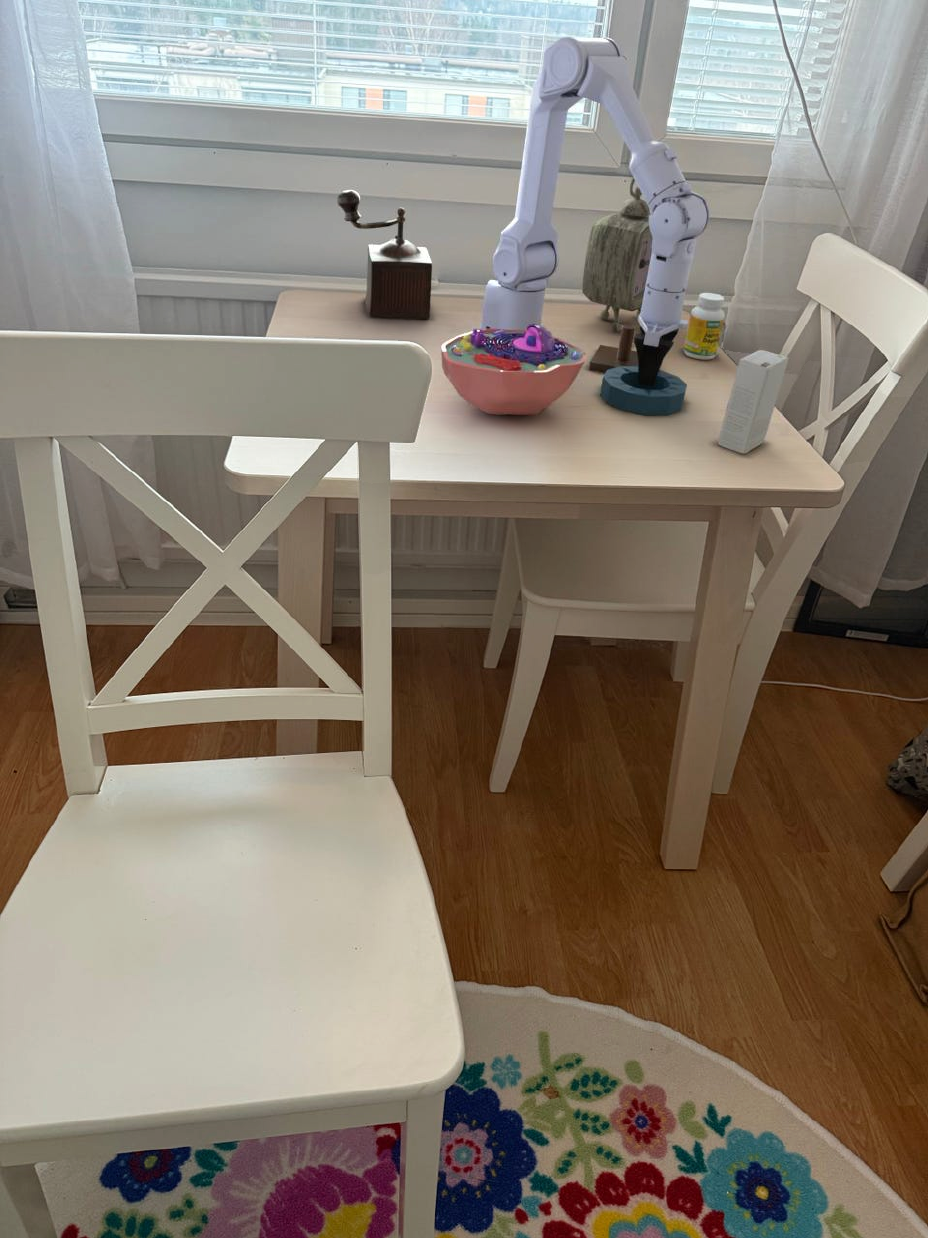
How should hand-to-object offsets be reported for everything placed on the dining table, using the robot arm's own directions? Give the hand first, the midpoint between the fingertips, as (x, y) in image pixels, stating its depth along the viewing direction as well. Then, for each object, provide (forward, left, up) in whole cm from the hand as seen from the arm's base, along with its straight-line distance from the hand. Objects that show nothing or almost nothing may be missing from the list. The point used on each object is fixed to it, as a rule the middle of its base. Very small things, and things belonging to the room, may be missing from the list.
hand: (647, 379), depth 144 cm
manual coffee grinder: (-48, +15, -2) cm, 50 cm away
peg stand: (-5, +8, -1) cm, 10 cm away
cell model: (-17, -18, -2) cm, 25 cm away
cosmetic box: (+15, -15, -2) cm, 21 cm away
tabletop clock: (-10, +30, -2) cm, 32 cm away
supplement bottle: (+6, +20, -2) cm, 21 cm away
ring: (0, -5, -1) cm, 5 cm away
